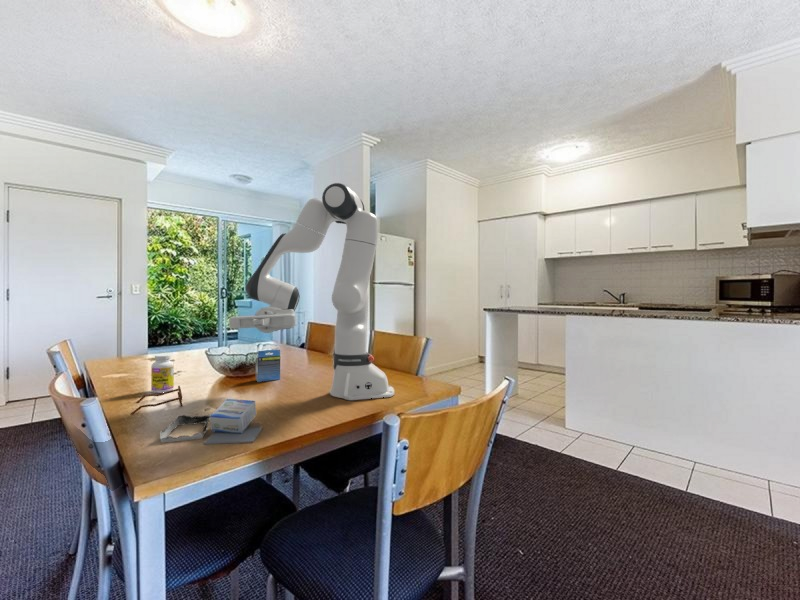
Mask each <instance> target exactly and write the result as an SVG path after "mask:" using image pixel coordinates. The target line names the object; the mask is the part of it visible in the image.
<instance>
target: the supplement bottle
mask: <svg viewBox="0 0 800 600" xmlns="http://www.w3.org/2000/svg"><path fill="white" fill-rule="evenodd" d="M154 360H155V361H154V362H152V364H151V370H150V373H151V377H150V378H151V380H150V381H151V387H150V388H151V393H153V394H160V393H163V392H168V391H171V390H174V386H175V385H174V384H175V382H174V377H175V376H174V369H175V367H174V362H173V361H171V354H169V353H161V354H160V353H159V354H155V355H154Z"/></svg>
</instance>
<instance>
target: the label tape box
mask: <svg viewBox="0 0 800 600" xmlns="http://www.w3.org/2000/svg"><path fill="white" fill-rule="evenodd" d="M269 353H270V354H269ZM277 380H279V381H280V380H281V349H269V350H268V349H267V350H257V358H256V359H255V381H257V383H261V382H262V381H263V382H270V381H277ZM263 382H262V383H263Z"/></svg>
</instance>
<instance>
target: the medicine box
mask: <svg viewBox="0 0 800 600" xmlns="http://www.w3.org/2000/svg"><path fill="white" fill-rule="evenodd" d="M256 407H257V406H256V400H248V399H236V398H235V399H234V398H233V399H232V398H227V399H225V400H224V401H223V403H222V404H220V405H219V407H217V408H216V410H215V411H214V412H212V413H211V414H210V418H209V420H210V421H209V422H210V430H211V432H215V431H219V432H231V433H243V431H244V430H245V429H246V428H247V426H248V425H249V424H250V422H253V419H255V417H256V416H257V408H256Z"/></svg>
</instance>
